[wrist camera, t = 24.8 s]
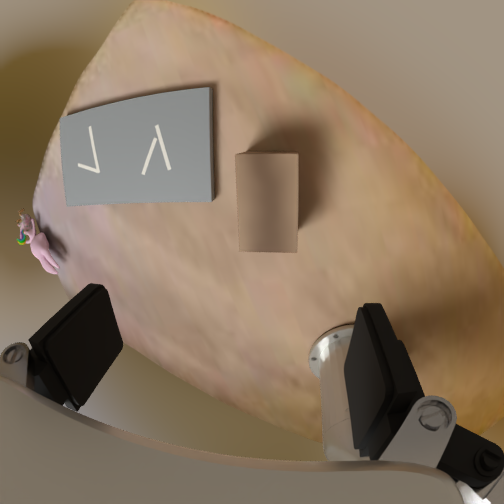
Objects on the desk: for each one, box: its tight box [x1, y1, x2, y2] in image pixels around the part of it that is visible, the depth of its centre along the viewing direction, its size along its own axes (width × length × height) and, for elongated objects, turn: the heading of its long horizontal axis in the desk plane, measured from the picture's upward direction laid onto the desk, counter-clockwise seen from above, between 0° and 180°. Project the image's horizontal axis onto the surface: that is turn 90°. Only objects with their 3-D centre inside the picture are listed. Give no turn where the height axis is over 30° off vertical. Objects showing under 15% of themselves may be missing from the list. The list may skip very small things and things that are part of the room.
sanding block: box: [235, 151, 298, 253], centre depth 31 cm, size 6×10×7 cm, turn 2°
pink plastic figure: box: [17, 209, 60, 274], centre depth 39 cm, size 6×6×15 cm
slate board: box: [60, 87, 215, 206], centre depth 33 cm, size 24×14×2 cm, turn 90°
